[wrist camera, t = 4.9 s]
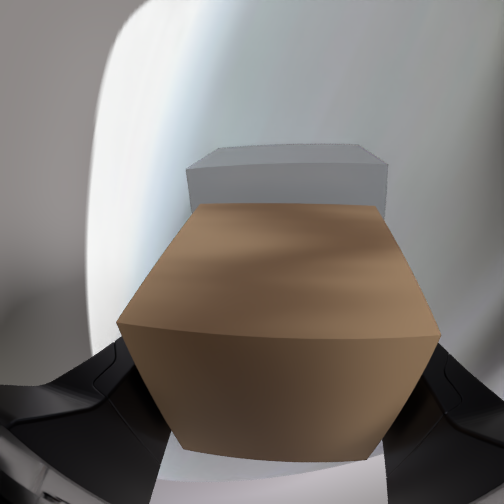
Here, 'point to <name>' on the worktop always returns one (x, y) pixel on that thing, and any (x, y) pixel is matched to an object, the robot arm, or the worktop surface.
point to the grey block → (289, 176)
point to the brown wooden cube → (281, 331)
